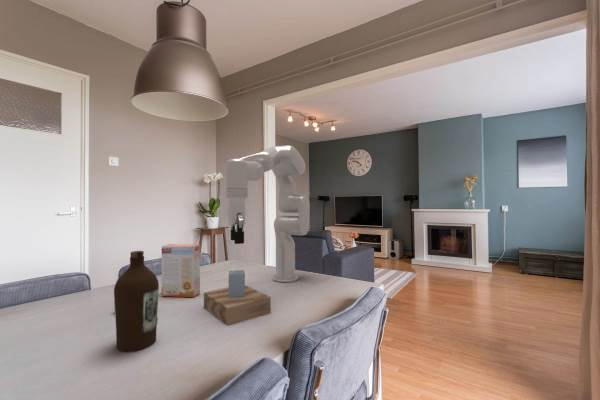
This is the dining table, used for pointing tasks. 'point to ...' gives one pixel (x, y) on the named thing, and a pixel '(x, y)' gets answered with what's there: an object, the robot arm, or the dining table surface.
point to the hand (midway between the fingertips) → (237, 241)
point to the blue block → (236, 283)
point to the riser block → (236, 305)
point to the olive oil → (136, 306)
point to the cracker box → (181, 270)
